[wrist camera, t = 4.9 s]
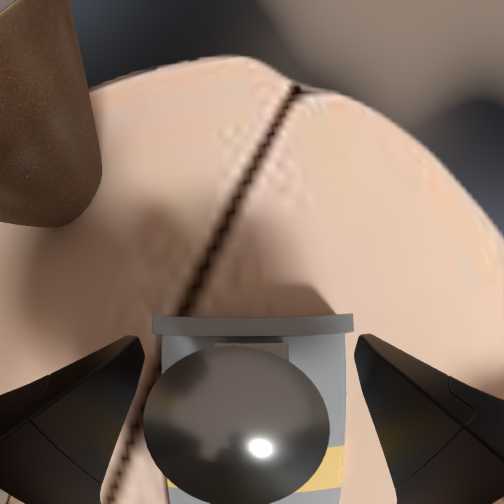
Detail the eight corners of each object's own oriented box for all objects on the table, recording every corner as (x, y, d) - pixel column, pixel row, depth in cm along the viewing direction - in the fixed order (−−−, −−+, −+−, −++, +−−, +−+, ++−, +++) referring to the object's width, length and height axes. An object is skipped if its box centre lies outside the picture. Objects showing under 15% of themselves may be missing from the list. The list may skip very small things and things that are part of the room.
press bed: (330, 539, 10) (337, 557, 8) (179, 538, 10) (170, 556, 8) (339, 318, 15) (352, 313, 13) (167, 320, 16) (152, 315, 13)
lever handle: (285, 405, 13) (335, 509, 3) (220, 405, 13) (141, 502, 3) (284, 343, 14) (341, 328, 4) (220, 344, 14) (132, 327, 4)
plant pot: (74, 313, 16) (-137, 213, 1) (-8, 234, 18) (-114, 153, 3) (179, 139, 20) (120, -54, 5) (72, 115, 23) (8, 5, 8)
